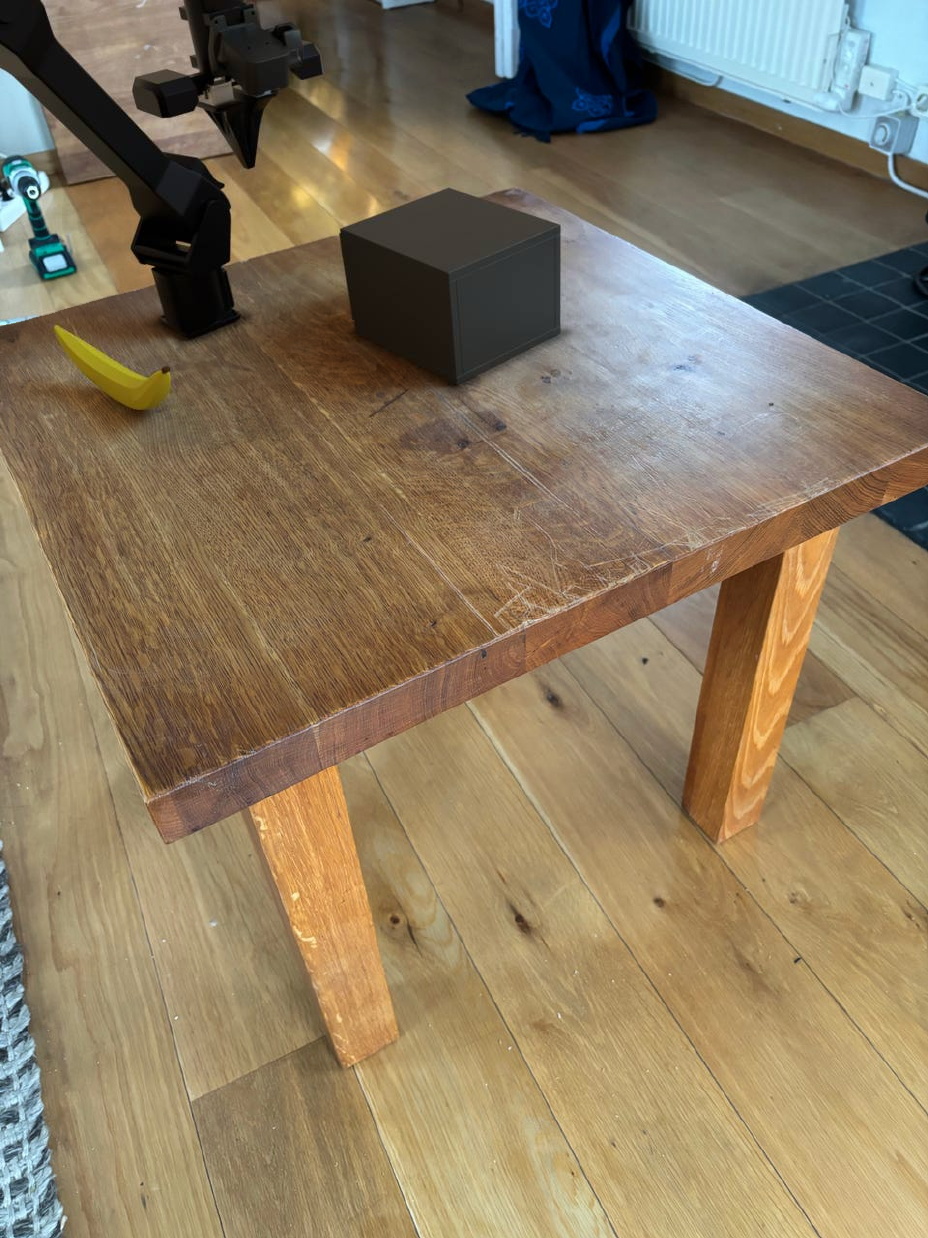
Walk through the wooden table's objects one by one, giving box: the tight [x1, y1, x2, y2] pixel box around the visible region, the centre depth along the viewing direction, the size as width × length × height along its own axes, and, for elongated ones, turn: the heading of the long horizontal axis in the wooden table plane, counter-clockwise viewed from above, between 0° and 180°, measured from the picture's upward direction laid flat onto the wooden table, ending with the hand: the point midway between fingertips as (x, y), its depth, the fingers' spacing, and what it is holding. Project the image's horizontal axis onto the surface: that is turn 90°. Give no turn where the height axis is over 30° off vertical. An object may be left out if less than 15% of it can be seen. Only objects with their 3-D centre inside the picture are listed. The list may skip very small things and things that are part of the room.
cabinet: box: [339, 187, 562, 386], centre depth 93 cm, size 16×14×11 cm
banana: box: [53, 324, 172, 411], centre depth 89 cm, size 3×19×6 cm, turn 49°
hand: (249, 167), depth 101 cm, fingers closed
